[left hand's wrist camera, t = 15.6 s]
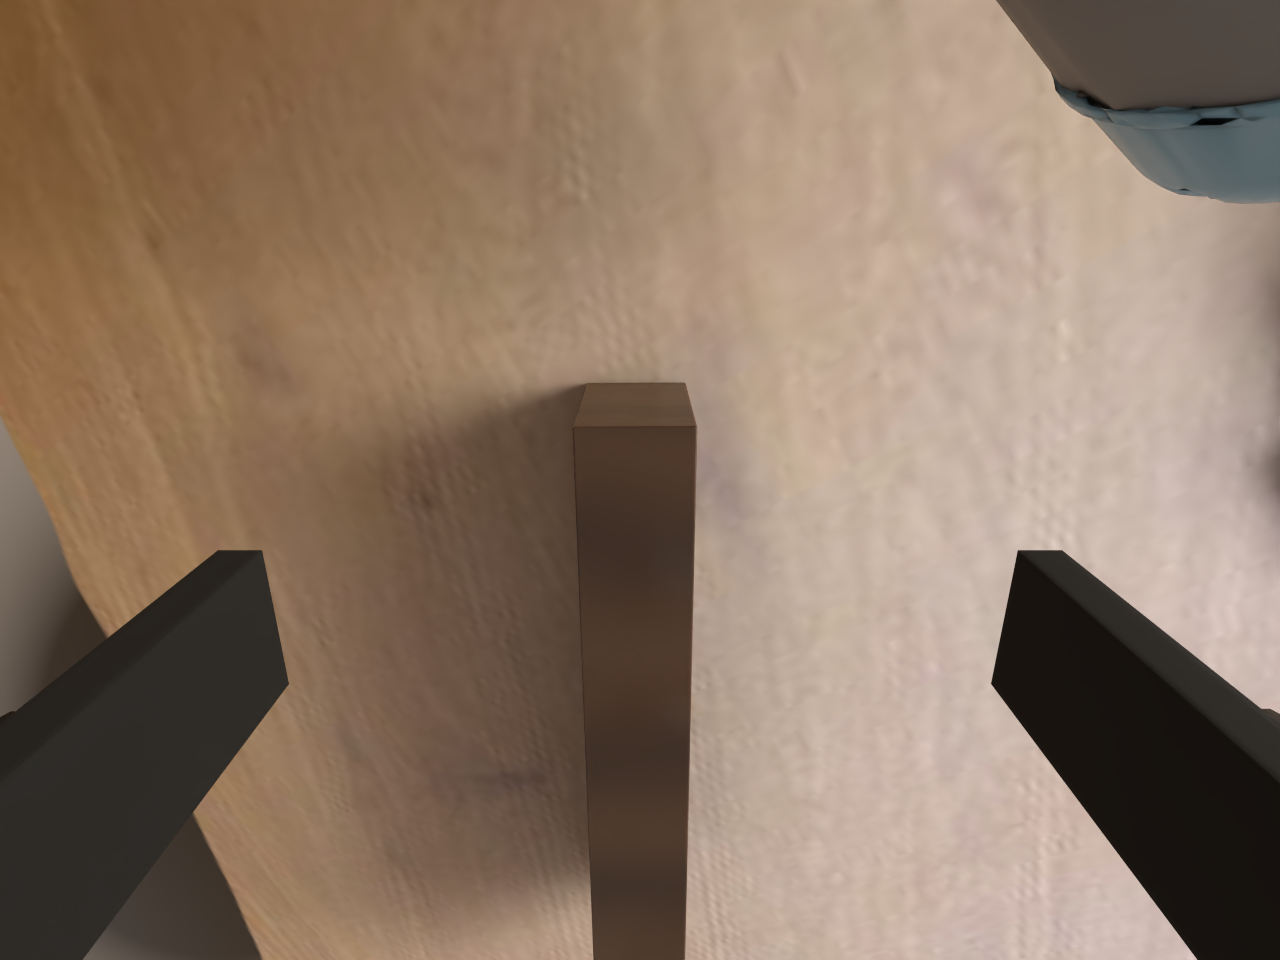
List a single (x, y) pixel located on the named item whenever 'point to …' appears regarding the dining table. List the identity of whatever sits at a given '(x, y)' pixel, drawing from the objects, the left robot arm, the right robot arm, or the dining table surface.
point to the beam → (636, 658)
